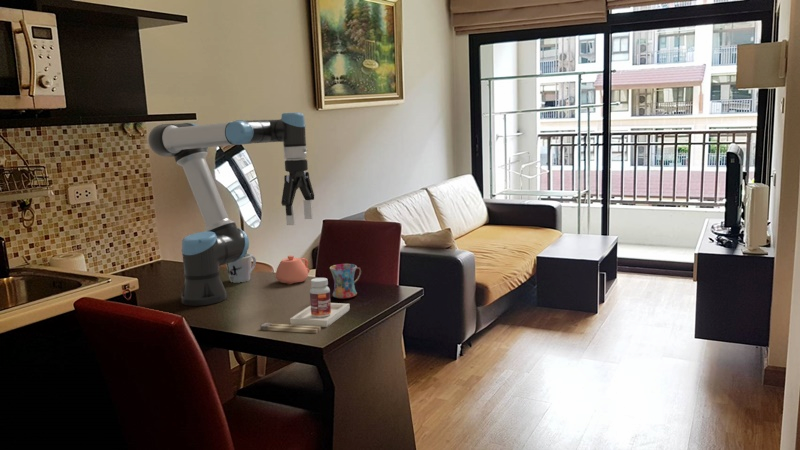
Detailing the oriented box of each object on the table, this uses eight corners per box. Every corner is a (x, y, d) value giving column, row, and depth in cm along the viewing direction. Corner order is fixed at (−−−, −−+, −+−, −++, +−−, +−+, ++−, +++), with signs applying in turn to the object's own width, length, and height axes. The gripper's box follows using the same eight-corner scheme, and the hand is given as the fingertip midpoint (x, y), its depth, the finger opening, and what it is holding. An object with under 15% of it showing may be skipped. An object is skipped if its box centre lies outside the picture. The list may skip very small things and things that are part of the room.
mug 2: (341, 301, 218) (339, 271, 216) (326, 296, 225) (324, 267, 223) (369, 294, 225) (368, 264, 224) (354, 290, 232) (352, 261, 231)
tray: (290, 325, 194) (290, 318, 194) (315, 308, 211) (315, 302, 211) (327, 327, 191) (327, 320, 191) (349, 309, 208) (349, 303, 208)
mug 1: (220, 282, 252) (218, 257, 251) (247, 274, 265) (245, 250, 264) (241, 285, 247) (238, 259, 246) (266, 276, 260) (264, 251, 259)
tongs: (260, 329, 191) (260, 325, 191) (265, 326, 194) (265, 322, 194) (316, 333, 186) (316, 329, 186) (321, 329, 189) (320, 325, 189)
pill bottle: (320, 319, 197) (318, 282, 195) (307, 315, 201) (305, 280, 199) (335, 314, 201) (333, 278, 200) (321, 311, 205) (319, 276, 204)
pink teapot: (270, 282, 250) (268, 256, 248) (301, 275, 259) (299, 250, 257) (286, 287, 241) (284, 260, 239) (318, 280, 249) (316, 254, 248)
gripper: (288, 161, 204) (293, 228, 207) (321, 156, 228) (325, 216, 231) (267, 162, 206) (272, 227, 210) (302, 157, 230) (305, 216, 233)
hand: (300, 221), depth 220 cm, fingers open, 13 cm apart
